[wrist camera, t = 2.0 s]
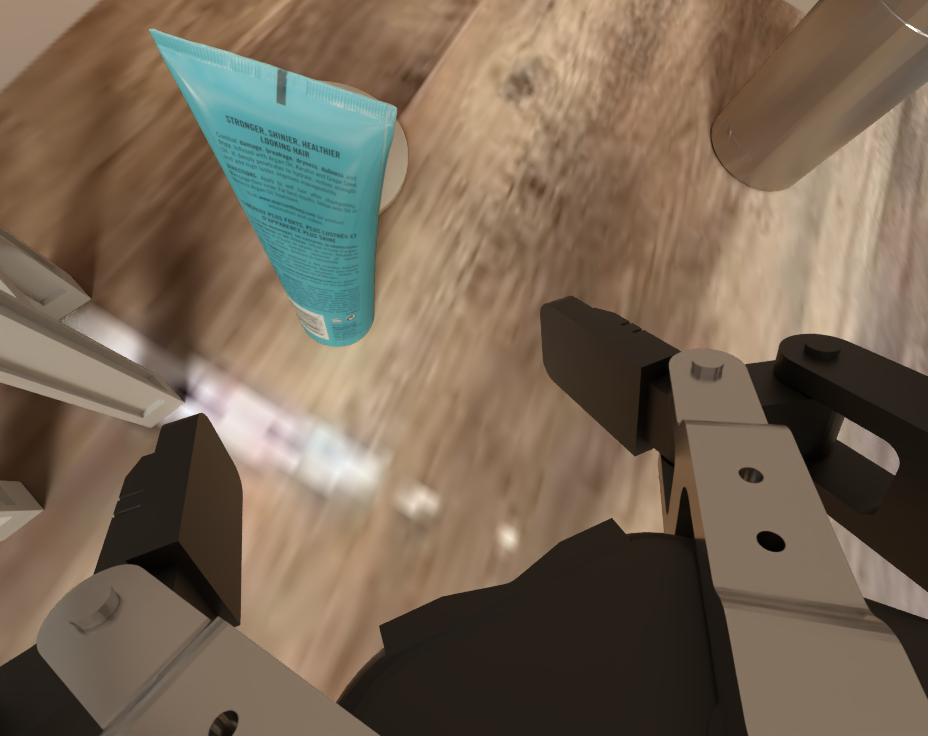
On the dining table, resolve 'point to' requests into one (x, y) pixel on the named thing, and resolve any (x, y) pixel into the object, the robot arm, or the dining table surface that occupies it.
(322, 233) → the tube
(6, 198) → the dining table surface
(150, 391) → the stool
